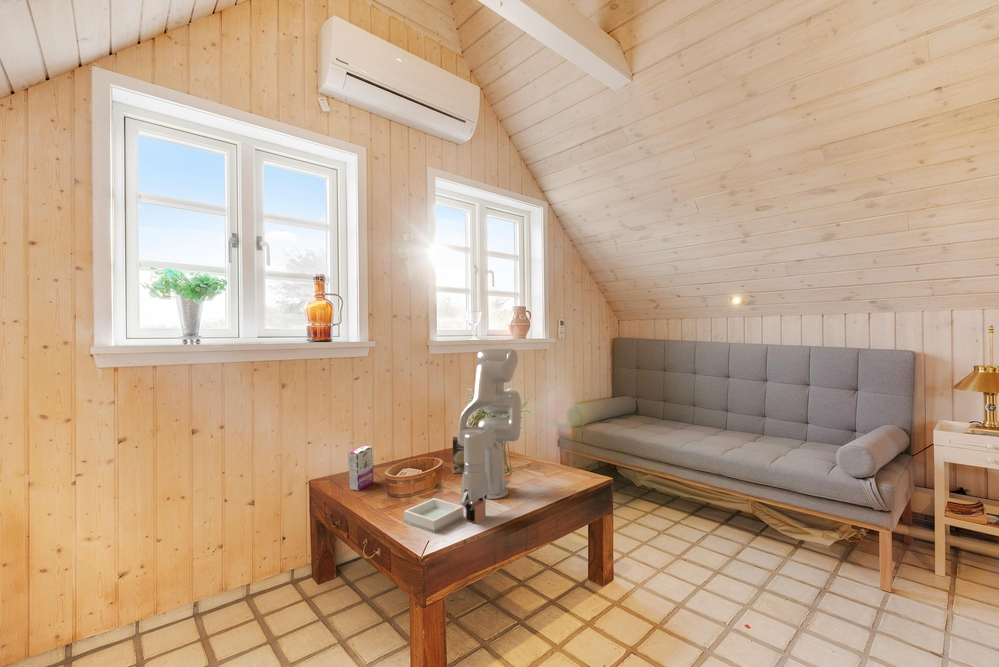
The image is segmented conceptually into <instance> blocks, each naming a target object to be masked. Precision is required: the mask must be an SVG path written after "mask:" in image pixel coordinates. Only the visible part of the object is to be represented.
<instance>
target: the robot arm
mask: <svg viewBox="0 0 999 667" xmlns="http://www.w3.org/2000/svg"><path fill="white" fill-rule="evenodd" d="M518 360H519V355H518V353H517V351H516V349H514V348H484V349H481V350H479V351H478V352H477V354H476V361H477V365H476V367H475V374H474V375H475V376H474V381H473V382H474V385H473V394H472V400H470V402H469V403H468V404H467V405H466V406H465V407H464V408H463V410H462V412H461V414H460V417H459V420H458V428H457V436H456V437H457V438H458V443H459V444H460V445H461V446H463V447H464V469H465V470H464V471H465V472H463V473H462V477H461V492H460V493H461V496H460V498H461V501H460V505H461V506H463V508H465V510H466V509H467V520H466V521H468V520H470V521H469V522H471V521H474V520H475V516H474V510H473V507H474V501H476V500H481V501H484V502H485V504H486V502H487V501H486V500H487V499H488V500H497V499H502V498H504V497H506V496H508V494H509V489H508V488H506V486H507V485H508V484H510V482H511V480H510V479H509V478H506V479H505V462H504V460H505V459H504V457H505V456H504V448H503V446H502V445H501V444H500V443H499V442H517V441H518V440H519V438H520V435H521V425H522V424H521V423H522V422H521V416H522V401H521V400H522V398H521V397H520V394H519V393H518V392H516V391H511V390H510V391H507V390H505V389H504V388H505V383H509V382H511V380H512V378H513V377H514V374H515V370H516V368H517V365H518ZM481 409H483V411H484V412H485V413H486V414H489V415H490V414H491V415H508V417H500V416H499V417H498V416H497V417H495V416H488V417H483V418H481V419H480V420H479V421H478V424H477V426H468V424H469V421H470V419H471V417H472V416H473V415H474V414H476V412H478V411H480V410H481ZM469 502H471V505H469Z"/></svg>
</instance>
